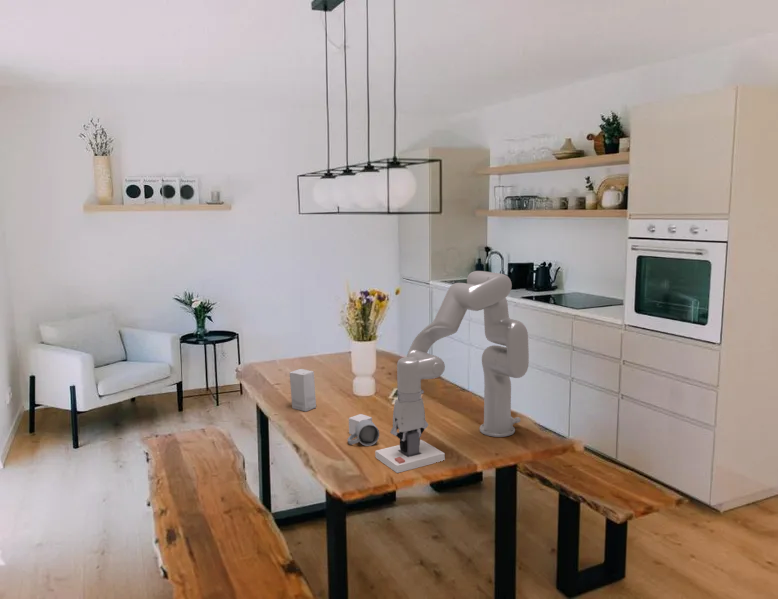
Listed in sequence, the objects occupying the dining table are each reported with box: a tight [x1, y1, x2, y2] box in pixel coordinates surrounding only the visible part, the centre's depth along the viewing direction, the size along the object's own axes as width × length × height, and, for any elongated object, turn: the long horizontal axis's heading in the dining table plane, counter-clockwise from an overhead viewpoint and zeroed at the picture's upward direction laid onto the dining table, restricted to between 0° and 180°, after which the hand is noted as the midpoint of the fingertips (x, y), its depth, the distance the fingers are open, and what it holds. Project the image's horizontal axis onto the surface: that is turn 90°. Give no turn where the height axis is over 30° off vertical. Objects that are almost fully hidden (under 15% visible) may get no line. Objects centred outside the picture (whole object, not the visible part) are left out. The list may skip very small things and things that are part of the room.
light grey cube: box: [348, 413, 373, 435], centre depth 231 cm, size 6×6×6 cm
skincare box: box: [289, 368, 317, 412], centre depth 259 cm, size 8×7×16 cm
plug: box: [401, 430, 419, 457], centre depth 207 cm, size 4×5×10 cm
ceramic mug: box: [347, 420, 380, 447], centre depth 223 cm, size 11×8×8 cm
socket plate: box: [374, 439, 446, 474], centre depth 208 cm, size 18×14×3 cm
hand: (409, 448), depth 208 cm, fingers closed on plug, 4 cm apart
